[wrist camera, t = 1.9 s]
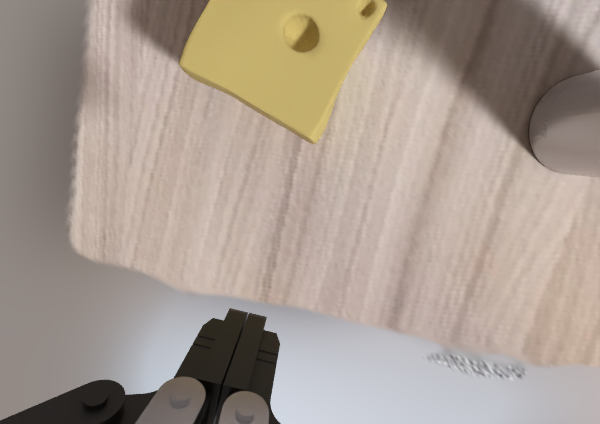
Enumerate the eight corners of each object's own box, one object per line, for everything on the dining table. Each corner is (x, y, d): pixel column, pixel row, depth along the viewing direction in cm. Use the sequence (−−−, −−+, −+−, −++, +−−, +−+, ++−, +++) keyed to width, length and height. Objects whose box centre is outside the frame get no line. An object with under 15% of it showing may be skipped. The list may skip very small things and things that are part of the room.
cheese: (266, -15, 28) (247, -102, 18) (367, 50, 29) (401, 1, 19) (213, 91, 30) (170, 64, 20) (310, 149, 31) (315, 150, 21)
